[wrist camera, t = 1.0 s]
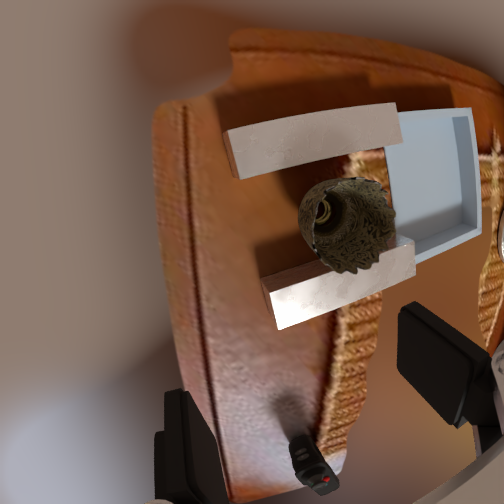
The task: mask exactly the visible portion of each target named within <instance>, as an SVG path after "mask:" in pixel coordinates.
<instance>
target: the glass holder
mask: <svg viewBox="0 0 504 504" xmlns="http://www.w3.org/2000/svg"><path fill="white" fill-rule="evenodd" d="M503 350H504V340H503V341H502V342H501V343H500V345H499V346H498V347H497V349H496V351H495V352H494V354H493V356H492V358H493V357H494V355H495V354H497V353H498V352H500V351H503Z"/></svg>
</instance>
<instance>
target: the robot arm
mask: <svg viewBox="0 0 504 504" xmlns="http://www.w3.org/2000/svg"><path fill="white" fill-rule="evenodd" d="M498 249H499V254H500V258H501V260H502V261H503V262H504V210H503V213H502V217H501V221H500V225H499V232H498ZM397 369H398V371H399V372H400V374H401V375H402V376H403V377H404V378H405V379H406V380H407V381H408V382H409V383H410V384H411V385H412V386H413V387H414V388H415V389H416V390H417V392H418V393H419V394H420V395H421V396H422V397H423V398H424V399H425V400H426V401H427V402H428V403H429V404H430V405H431V406H432V407H433V409H434V410H436V412H437V413H438V414H439V415H440V416H441V417H442V418H443V419H444V420H445V421H446V422H447V423H448V424H449V425H454V426H455V427H456V428H457V429H458V428H459V427H461V426H462V425H463V424H464V423H466V422H467V421H469V423H470V424H471V425H472V429H473V435H474V442H475V449H476V457H477V459H476V460H475V461H474V462H472V463H471V464H470V465H468V466H467V467H466V468H465V469H463V470H462V471H461V472H459V473H458V474H457V475H455V476H454V477H452V478H451V479H450V480H448V481H447V482H445V483H444V484H443V485H441V486H440V487H438V488H437V489H435V490H434V491H432V492H430V493H429V494H427V495H426V496H424V497H423V498H421V499H419V500H418V501H416V502H414V503H413V504H504V350H503V351H500V352H498V353H497V354H495V355H494V357H493V358H491V357H490V356H489V353H488V352H486V351H485V350H484V349H482V348H481V347H479V346H478V345H477V344H475V343H474V342H473V341H471V340H470V339H469V338H467V337H466V336H464V335H463V334H462V333H460V332H459V331H458V330H456V329H455V328H453V327H452V326H450V325H449V324H448V323H446V322H445V321H444V320H442V319H441V318H439V317H438V316H437V315H435V314H434V313H432V312H431V311H429V310H428V309H427V308H425V307H424V306H422V305H421V304H419V303H418V302H416V301H414V302H412V303H410V304H407V305H405V306H403V307H402V308H401V310H400V313H399V314H398V345H397ZM154 481H155V500H151V501H149V502H147V503H145V504H229V500H228V496H227V491H226V487H225V482H224V477H223V472H222V467H221V462H220V457H219V452H218V447H217V442H216V439H215V437H214V435H213V433H212V432H211V430H210V428H209V426H208V425H207V423H206V421H205V420H204V418H203V416H202V414H201V413H200V411H199V409H198V407H197V405H196V404H195V402H194V400H193V398H192V396H191V394H190V393H189V391H185V392H183V390H182V389H181V388H179V389H175V390H171V391H167V392H165V395H164V431H159V432H156V434H155V438H154Z"/></svg>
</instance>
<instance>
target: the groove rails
mask: <svg viewBox="0 0 504 504" xmlns="http://www.w3.org/2000/svg"><path fill="white" fill-rule="evenodd" d="M222 136H223V140H224V143H225V147H226V151H227V155H228V159H229V162H230V166H231V170H232V174H233V177H234V178H237V179H239V180H242V179H245V178H249V177H253V176H257V175H260V174H264V173H268V172H272V171H276V170H280V169H284V168H288V167H292V166H296V165H300V164H304V163H309V162H313V161H317V160H322V159H326V158H331V157H335V156H340V155H344V154H349V153H354V152H359V151H364V150H369V149H374V148H379V147H385V146H390V145H396V144H401V143H403V139H402V133H401V128H400V123H399V118H398V113H397V109H396V104H395V102H394V103H383V104H373V105H364V106H355V107H347V108H340V109H333V110H326V111H320V112H314V113H308V114H302V115H296V116H291V117H286V118H280V119H275V120H271V121H266V122H261V123H257V124H252V125H248V126H243V127H239V128H235V129H231V130H227V131H226V132H224V133H223V134H222ZM386 243H387V245H388V247H389V250H386V251H379V252H378V253H379V254H380V255H379V263H374V264H372V267H371V268H370V269H368V270H362V269H359V268H357V269H358V273H357V274H351V273H350V272H348V271H346V272H344V273H343V274H339V273H336V272H334V271H333V270H331V269H330V268H329V267H328V266H327V265H325V264H324V263H323V262H322V261H321V260H320V259H317V260H314V261H311V262H308V263H305V264H302V265H299V266H296V267H293V268H290V269H287V270H284V271H281V272H278V273H275V274H272V275H269V276H266V277H263V278H260V280H261V284H262V288H263V292H264V295H265V299H266V303H267V307H268V311H269V313H270V315H271V317H272V319H273V321H274V322H275V324H276V326H277V328H278V329H282V328H285V327H288V326H291V325H294V324H296V323H299V322H302V321H305V320H307V319H310V318H313V317H315V316H318V315H321V314H323V313H326V312H329V311H331V310H334V309H336V308H339V307H342V306H344V305H347V304H349V303H352V302H354V301H357V300H359V299H361V298H364V297H366V296H369V295H371V294H374V293H376V292H378V291H381V290H383V289H385V288H388V287H390V286H392V285H395V284H397V283H398V282H401V281H404V280H406V279H408V278H410V277H412V276H415V275H416V269H415V242H414V240H412V239H409V238H407V237H404V236H402V235H400V234H397V233H395V234H394V235H393V237H392V238H391V239H389V240H388V241H387V242H386Z"/></svg>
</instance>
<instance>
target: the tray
mask: <svg viewBox="0 0 504 504" xmlns="http://www.w3.org/2000/svg"><path fill="white" fill-rule="evenodd" d="M398 118H399V123H400V128H401V133H402V139H403V143H401V144H396V145H390V146H385V147H384V152H385V158H386V164H387V170H388V177H389V184H390V191H391V199H392V207H393V209H394V210H395V212H396V217H395V218H394V222H395V226H396V233H397V234H400V235H402V236H404V237H407V238H409V239H412V240H414V242H415V264H417V263H419V262H421V261H424V260H426V259H428V258H430V257H433V256H435V255H437V254H439V253H441V252H444V251H446V250H448V249H450V248H452V247H454V246H456V245H458V244H461V243H463V242H465V241H467V240H469V239H471V238H473V237H475V236H477V235H479V234H481V229H482V228H481V225H482V224H481V223H482V222H481V221H482V218H481V217H482V216H481V186H480V172H479V160H478V151H477V143H476V135H475V129H474V122H473V116H472V111H471V108H451V109H434V110H420V111H408V112H398Z"/></svg>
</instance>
